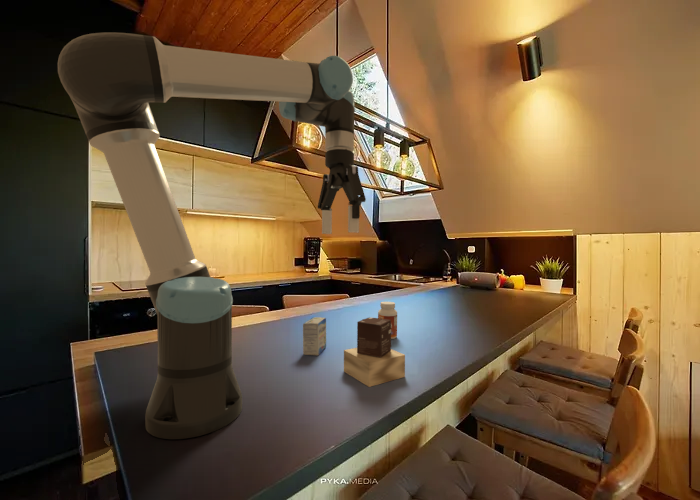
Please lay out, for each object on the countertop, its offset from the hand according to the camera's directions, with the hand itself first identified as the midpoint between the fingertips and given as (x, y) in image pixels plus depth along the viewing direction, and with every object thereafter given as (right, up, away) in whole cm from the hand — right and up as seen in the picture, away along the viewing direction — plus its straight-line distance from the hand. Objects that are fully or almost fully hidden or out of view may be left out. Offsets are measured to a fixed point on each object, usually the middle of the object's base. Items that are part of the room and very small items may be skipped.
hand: (339, 233), depth 86 cm
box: (+8, -28, -11) cm, 31 cm away
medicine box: (-7, -33, +6) cm, 34 cm away
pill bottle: (+15, -33, +20) cm, 41 cm away
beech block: (+8, -33, -11) cm, 36 cm away
